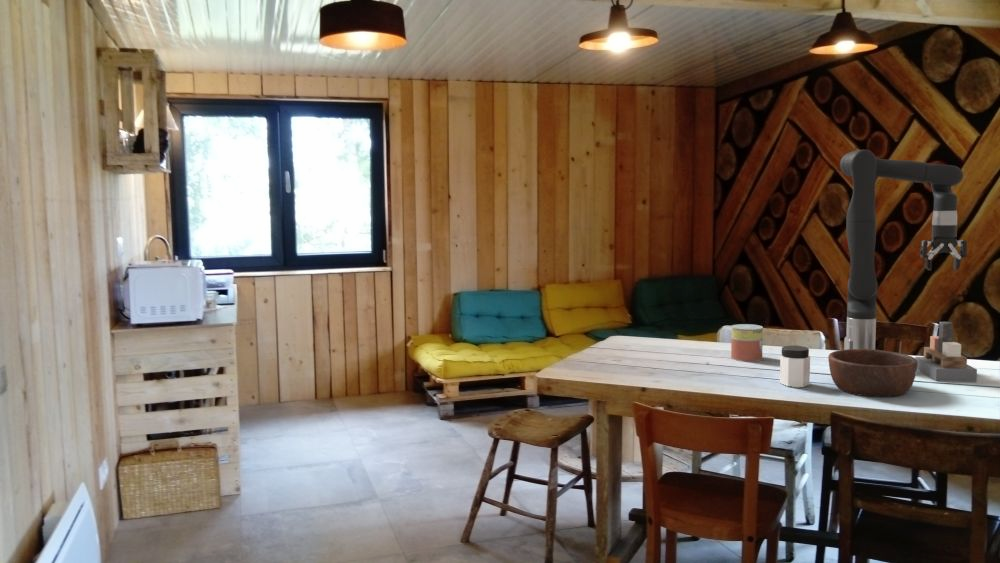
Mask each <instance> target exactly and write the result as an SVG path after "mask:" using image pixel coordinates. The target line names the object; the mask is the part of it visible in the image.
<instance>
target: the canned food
mask: <svg viewBox="0 0 1000 563" xmlns="http://www.w3.org/2000/svg"><path fill="white" fill-rule="evenodd" d="M763 330H764V327H763V326H762V325H758V324H753V323H752V324H751V323H750V324H749V323H740V324H739V323H738V324H731V334H730V335H731V339H730V340H731V341H730V342H731V344H730V345H731V350H730V358H731V359H732V360H734V361H737V362H738V361H739V362H747V363H749V362H750V363H751V362H752V363H753V362H759V361H762V360H764V359H763V341H764V339H763V338H764V336H763V335H764V334H763V333H764V331H763Z"/></svg>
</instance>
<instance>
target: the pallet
mask: <svg viewBox="0 0 1000 563" xmlns="http://www.w3.org/2000/svg"><path fill="white" fill-rule="evenodd" d="M938 323H939V324H938V326H939V328H938V336H939V342H938V350H933V349H931V348H930V346H924V347H923V357H924V358H926V359H932V362H933V363H941V366H940V367H942V368H963V369H967V365H968V357H967V356H965V355H962V354H961V357H947V356H945V355H943V354H942V347H943V342H953V333H954V331H953V330H954V323H953V322H951V321H939V322H938Z"/></svg>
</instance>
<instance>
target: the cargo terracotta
mask: <svg viewBox="0 0 1000 563" xmlns="http://www.w3.org/2000/svg"><path fill="white" fill-rule="evenodd" d="M929 338H930V339H929V340H930V341H929V347H930V348H931V349H933V350H938V342H939V335H937V336H935V335H931V336H929Z"/></svg>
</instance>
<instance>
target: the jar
mask: <svg viewBox="0 0 1000 563" xmlns="http://www.w3.org/2000/svg"><path fill="white" fill-rule="evenodd" d="M779 363H780V364H779V384H780V383H781V384H780V385H782V384H784V385H783V386H785V385H786V386H785V387H787V386H792V387H791V388H799V387H803V388H805V387H804V386H806V387H808V386H810V383H811V382H810V379H811V378H810V376H811V375H810V373H811V372H810V371H811V356H810V348H808V347H806V346H801V345H783V346H782V347H781V355H780V360H779ZM807 385H808V386H807Z"/></svg>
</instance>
